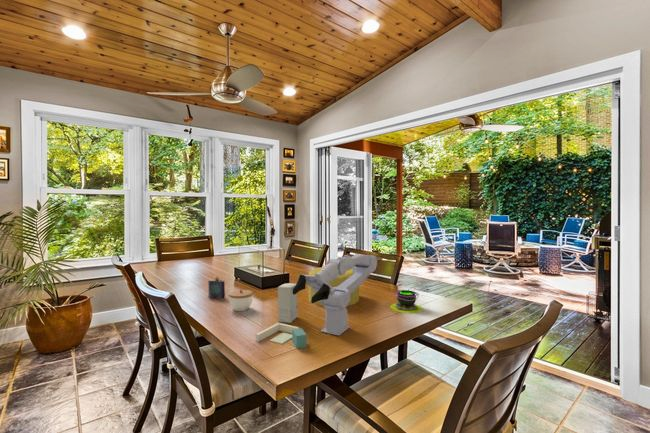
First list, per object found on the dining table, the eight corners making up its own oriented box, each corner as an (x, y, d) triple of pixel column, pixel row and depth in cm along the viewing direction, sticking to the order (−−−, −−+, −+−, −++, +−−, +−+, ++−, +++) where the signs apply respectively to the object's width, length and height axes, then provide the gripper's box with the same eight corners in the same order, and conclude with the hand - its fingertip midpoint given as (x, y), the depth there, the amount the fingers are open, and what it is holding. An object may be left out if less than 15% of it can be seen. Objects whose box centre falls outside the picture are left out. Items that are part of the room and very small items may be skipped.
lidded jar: (257, 307, 153) (257, 288, 153) (241, 314, 144) (241, 293, 143) (240, 304, 158) (240, 285, 158) (224, 310, 149) (223, 290, 149)
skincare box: (290, 323, 133) (290, 287, 132) (277, 322, 135) (277, 286, 134) (298, 316, 141) (298, 283, 140) (285, 315, 143) (285, 282, 142)
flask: (207, 297, 170) (207, 277, 170) (210, 295, 173) (210, 276, 173) (223, 298, 168) (223, 278, 168) (226, 297, 171) (226, 277, 170)
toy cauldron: (397, 314, 145) (397, 290, 144) (385, 304, 159) (386, 281, 159) (428, 312, 147) (429, 288, 146) (414, 302, 162) (414, 280, 161)
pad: (283, 333, 123) (283, 332, 123) (295, 336, 120) (295, 335, 120) (269, 340, 116) (269, 340, 116) (282, 344, 113) (281, 343, 113)
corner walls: (277, 328, 127) (277, 322, 127) (299, 333, 122) (299, 327, 122) (255, 340, 116) (255, 333, 116) (278, 347, 111) (278, 339, 111)
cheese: (343, 290, 185) (343, 264, 184) (368, 302, 161) (369, 273, 161) (301, 295, 174) (301, 268, 173) (321, 310, 150) (321, 278, 150)
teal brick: (292, 341, 115) (292, 329, 115) (301, 340, 117) (301, 328, 116) (296, 348, 110) (296, 335, 110) (306, 347, 111) (306, 334, 111)
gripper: (308, 261, 120) (285, 278, 109) (342, 275, 114) (321, 294, 103) (307, 277, 123) (285, 295, 112) (340, 291, 116) (320, 312, 106)
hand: (302, 296), depth 108 cm, fingers open, 7 cm apart
